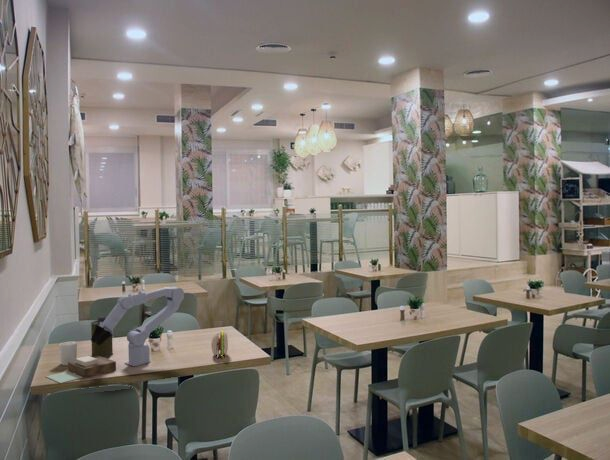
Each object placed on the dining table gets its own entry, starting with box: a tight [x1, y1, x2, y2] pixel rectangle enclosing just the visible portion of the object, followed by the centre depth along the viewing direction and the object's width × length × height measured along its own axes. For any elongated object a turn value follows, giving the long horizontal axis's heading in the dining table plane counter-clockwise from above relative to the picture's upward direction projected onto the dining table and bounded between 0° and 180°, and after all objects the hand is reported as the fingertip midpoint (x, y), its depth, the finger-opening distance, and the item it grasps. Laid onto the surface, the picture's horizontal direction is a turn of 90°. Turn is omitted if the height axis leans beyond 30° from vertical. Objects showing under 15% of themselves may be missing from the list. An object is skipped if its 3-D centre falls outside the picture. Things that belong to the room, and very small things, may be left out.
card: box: [76, 355, 98, 367], centre depth 239 cm, size 6×9×2 cm, turn 50°
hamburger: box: [211, 329, 229, 359], centre depth 266 cm, size 12×8×12 cm
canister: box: [90, 315, 114, 358], centre depth 267 cm, size 11×10×20 cm
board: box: [67, 356, 117, 379], centre depth 241 cm, size 15×16×4 cm
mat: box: [45, 370, 84, 384], centre depth 231 cm, size 10×14×1 cm
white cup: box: [59, 340, 78, 366], centre depth 253 cm, size 8×8×10 cm
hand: (95, 343), depth 241 cm, fingers open, 7 cm apart
